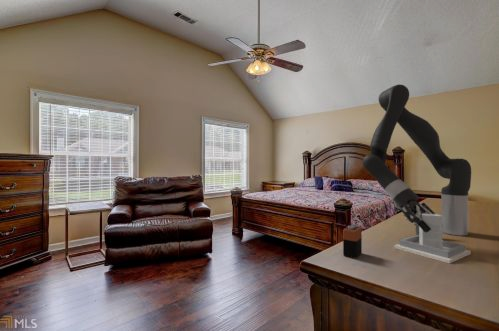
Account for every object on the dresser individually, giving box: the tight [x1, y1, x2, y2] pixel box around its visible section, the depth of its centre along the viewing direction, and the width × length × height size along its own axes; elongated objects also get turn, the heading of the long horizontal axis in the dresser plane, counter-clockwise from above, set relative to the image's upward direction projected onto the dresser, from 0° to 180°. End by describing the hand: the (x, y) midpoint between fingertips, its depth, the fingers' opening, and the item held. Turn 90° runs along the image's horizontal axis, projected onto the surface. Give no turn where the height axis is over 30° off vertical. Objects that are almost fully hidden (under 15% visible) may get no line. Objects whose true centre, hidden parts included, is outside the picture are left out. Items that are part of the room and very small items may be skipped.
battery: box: [342, 223, 363, 259], centre depth 86 cm, size 4×7×10 cm, turn 141°
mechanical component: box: [403, 214, 419, 235], centre depth 108 cm, size 3×10×10 cm, turn 79°
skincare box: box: [419, 213, 443, 250], centre depth 89 cm, size 6×4×12 cm
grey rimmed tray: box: [393, 234, 472, 264], centre depth 89 cm, size 16×17×3 cm
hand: (434, 229), depth 88 cm, fingers open, 8 cm apart
